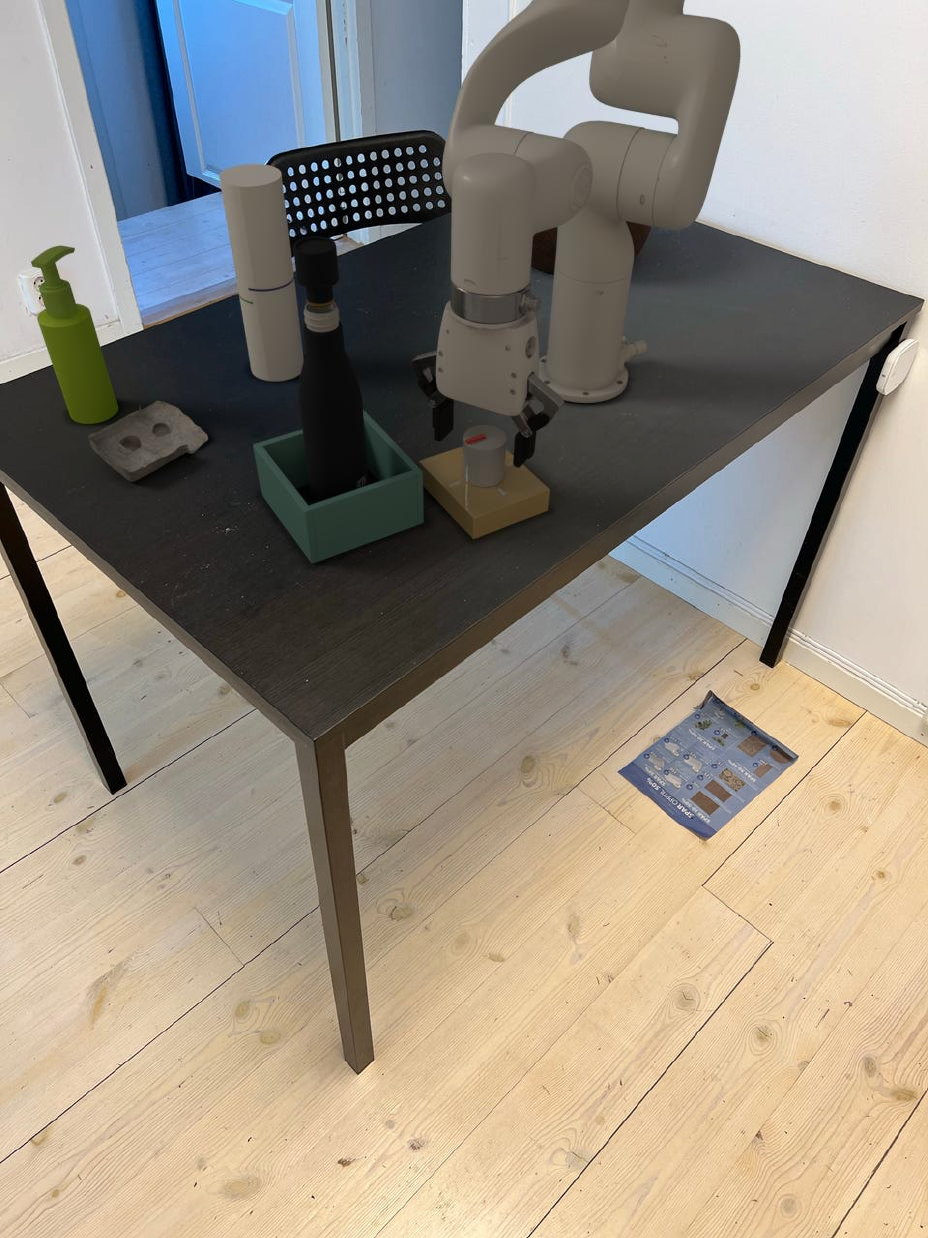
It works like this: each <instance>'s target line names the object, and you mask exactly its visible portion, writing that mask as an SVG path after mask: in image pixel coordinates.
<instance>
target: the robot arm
mask: <svg viewBox="0 0 928 1238" xmlns="http://www.w3.org/2000/svg"><path fill="white" fill-rule="evenodd" d="M685 2H686V0H531V2H530V3H529V4H528V5H527V6H526V7H525V8H524V9H523V10H522V11H520V12H519V13H518V14H516V16H515V17H514V18H512V19H511V20H509V22H507V23H506V24H505V25H504V26H503V27H502V28H501V29H500V30H499V31H498V32H497V33H496V34H495V35H494V37H492V39H491V40H489V42H488V43H487V45H486V46H485V47H484V48H483V49H482V50H481V52H480V53H479V55H478V56H477V57H476V58H475V60H474V61H473V62H472V64H471V66H470V67H469V69H468V70H467V72H466V74H465V77H464V79H463V81H462V83H461V86H460V88H459V92H458V95H457V98H456V102H455V106H454V109H453V113H452V117H451V120H450V123H449V127H448V131H447V134H446V135H447V136H446V139H445V143H444V150H443V155H442V163H441V164H442V165H441V167H442V168H441V174H442V183H443V185H444V188H445V191H446V193H447V194H448V195H449V197H450V198H451V227H450V228H451V230H450V231H451V232H450V233H451V235H450V237H451V239H450V244H451V245H450V294H449V296H450V297H449V300H448V302H446V304H445V306H444V308H443V309H444V310H443V314H442V317H441V322H440V326H439V333H438V338H437V346H436V347H437V348H436V350H433V351H429V352H425V353H422V354H418V355H416V356H415V357H413V359H411V360H410V366H411V368H412V371H413V373H414V375H415V377H416V379H417V385H418V387H419V388H420V390H421V391H422V393H424V395H425V396H426V397H427V404H428V406H429V407H430V408H431V409H432V411H431V412H432V413H431V414H432V417H431V419H432V421H431V422H432V423H431V424H432V428H433V430H434V431H433V433H434V434H433V439H434V441H436V442H442V441H443V440H444V439H445V438H446V437H447V436H448V435H449V434H450V433H451V432H452V431H453V430H454V428H455V427H454V425H455V423H454V422H455V419H454V418H455V401H457V402H461V403H463V404H466V405H470V406H473V407H476V408H479V409H482V410H487V411H489V412H493V413H496V414H499V415H503V416H507V417H510V418H511V420H512V422H513V424H514V425H515V426H516V428H517V429H518V431H517V433H516V434H515V437H514V446H513V456H514V458H513V465H514V466H515V467H518V468H520V467H521V466H522V464H523V465H524V463H525V462H526V461H527V460H530V459H532V457H533V456H534V455H535V451H536V440H537V432H538V431H540V430H541V429H543V428H545V427H546V426H548V424H550V423H551V421H552V420H553V419H554V417H555V416H556V415H557V414H558V413H559V411H560V410H561V409H562V408H563V406H564V404H565V402H571V403H577V404H578V403H579V404H593V403H594V404H595V403H601V402H604V401H610V400H611V399H613V398H616V397H617V396H619V395H621V394H622V393H623V392H624V390H625V389H626V387H627V386H628V382H629V371H628V369H627V367H626V366H625V363H627V362H629V361H630V359H631V358H635V357H638V356H641V355H644V354H646V353H647V352H648V344H647V342H646V340H645V339H637V340H635V341H632V342H630V343H629V341H628V338H627V336H625V335H624V329H625V322H626V315H627V309H628V303H629V302H628V301H629V296H630V289H631V283H632V276H633V270H634V264H635V263H634V262H635V258H634V245H633V240H632V237H631V233H630V231H629V228H628V226H627V223H626V221H629V222H634V223H638V224H643V225H648V226H652V227H653V228H657V229H662V230H668V231H681V230H685V229H687V228H689V227H690V226H692V225H693V224H694V222H696V220H697V219H698V217H699V215H700V213H701V212H702V209H703V206H704V205H705V200H706V198H707V194H708V192H709V188H710V184H711V182H712V178H713V174H714V170H715V167H716V162H717V159H718V155H719V151H720V147H721V145H722V140H723V136H724V133H725V129H726V125H727V121H728V119H729V118H728V117H729V114H730V110H731V107H732V104H733V99H734V95H735V92H736V87H737V83H738V78H739V72H740V67H741V66H740V65H741V57H742V55H741V41H740V40H741V39H740V37H739V34H738V32H737V30H736V29H735V27H734V26H732V25H731V24H730V23H728V22H727V21H726V20H725V21H724V20H722V19H719V18H715V17H710V16H701V15H694V14H685V13H684V6H685ZM589 53H591V59H590V63H589V73H588V84H589V90H590V92H591V94H592V96H593V98H595V99H596V100H597V101H598V102H599V103H601V104H603V105H605V106H609V107H611V108H616V109H620V110H623V111H629V112H635V113H640V114H645V115H650V116H657V117H662V118H668V119H673V120H675V121H676V123H677V128H678V129H677V133H672V132H668V131H663V130H656V129H650V128H645V127H643V126H638V125H632V124H627V123H622V122H616V121H610V120H609V121H608V120H587V121H582V122H580V123H577V124H575V125H573V126H572V127H571V128H569V129H568V130H567V131H566V132H565V134H564V135H563V137H559V136H553V135H548V134H543V133H537V132H534V131H529V130H525V129H520V128H515V127H509V126H503V125H498V124H496V121H497V119H498V117H499V114H500V111H501V109H502V108H503V106H504V104H505V102H506V101H507V100H508V99H509V97H510V95H512V93H514V91H515V90H516V89H517V88H518V87H519V86H520V85H522V84H523V83H524V82H525V81H527V80H528V79H529V78H531V77H533V76H534V75H536V74H538V73H540V72H542V71H543V70H546V69H548V68H551V67H553V66H555V65H559V64H561V63H563V62H566V61H569V60H571V59H574V58H577V57H581V56H583V55H586V54H589ZM557 226H558V230H557V247H556V259H555V270H554V274H553V283H552V291H551V292H552V293H551V305H550V316H549V327H548V338H547V339H548V340H547V349H546V350H547V351H546V354H545V355H543V356H541V357H540V341H539V329H538V324H537V318H536V313H538V312H539V311H540V309H541V306H542V298H540V297H538V296H535V295H534V294H532V283H530V280H531V269H532V266H531V257H532V242H533V236H534V234H536V233H539V232H542V231H545V230H548V229H551V228H555V227H557ZM652 227H651V228H652ZM433 367H435V375H434V373H432V372H431V371H432V370H431V368H433ZM535 399H536V400H537V401H539V402H540V403H541V404H542V405H543V410H542V411H539V412H538V410H537V408H536V406H535V405H534V404H533V402H532V400H533V401H534V400H535Z"/></svg>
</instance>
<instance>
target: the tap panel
mask: <svg viewBox="0 0 928 1238" xmlns="http://www.w3.org/2000/svg"><path fill="white" fill-rule="evenodd" d="M462 453H463V445H462V446H459V447H456V448H453V449H450V450H446V451H444V452H440V453H438V454H435V455H432V456H429V457H427V458H424V459H423V458H422V459H420V460H418V467H419V468H420V469H421V470H422V471H423V488H424V489H425V490H426V491H427V492H428V493H429V494H430V495H431V496H432V497H433V498H434V499H435V500H436V502H438V504H440V506H441V507H442V508H443V509H444V510H445V511H446V512H447V514H449V515H450V516H451V518H452V519H453V520H454V521H455V522H456V523H457V524H458V525H459V527H461V528H462V529H463V530H464V531H465V532H466V533H467V534H468V536H469V537H470V538H471V539H472V540H475V539H478V538H481V537H484V536H485V535H488V534H491V533H493V532H496V531H499V530H502V529H504V528H506V527H509V526H511V525H515V524H516V523H519V522H522V521H524V520H527V519H530V518H533V517H535V516H537V515H540V514H542V513H545V512H548V511H549V507H550V506H549V505H550V495H551V488H550V487H548V486H547V485H546V484H545V483H544V482H543V481H542V480H540V479H539V477H537V476H536V475H535V474H534V473H533V472H532V471H531V470H530V469H529V468H527V467H526V466H525V465H524V463H523V464H522V466H521V467H520V468H518V467H515V466H514V465H513V458H514V454H512V453H511V452H510V451H509V450H508V449H507V448H506V462H505V477H504V479H503V480H502V481H501V482H500V483H499V484H497V485H495V486H491V487H477V486H473V485H471V484H469V483H468V482H466V481H465V480H464V478H463V476H462Z"/></svg>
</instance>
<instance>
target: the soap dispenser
mask: <svg viewBox="0 0 928 1238" xmlns="http://www.w3.org/2000/svg"><path fill="white" fill-rule="evenodd" d="M75 251H76V248H75V247H72V246H67V245H55V246H52V247H50V248H47V249H46V250H44V251H42V252H40V253H39V254H38V255H37V256H36V257H35V258H33V259H32V260H31V261H30V263H31V267H32V268H37V269H40V270H41V274H42V277H43V280H44V281H43V282H42V283H41V284H40V285H39V287H38V289H39V293H40V297H41V299H42V302H43V305H44V309H42V310H41V312H39V313H38V314H37V317H36V319H37V323H38V327H39V329H40V332H41V335H42V338H43V340H44V343H45V346H46V349H47V352H48V356H49V359H50V361H51V364H52V367H53V370H54V373H55V376H56V378H57V382H58V385H59V387H60V390H61V393H62V396H63V400H64V403H65V406H66V409H67V412H68V414H69V418H70V419H71V420H72V421H74V422H75V423H78V424H81V425H82V424H83V425H94V424H99V423H100V424H101V423H102V422H105V421H108V420H110V419H111V418H113V417H114V416H115V415H116V414H117V413H118V411H119V404H118V402H117V399H116V395H115V392H114V388H113V385H112V381H111V378H110V375H109V371H108V368H107V365H106V361H105V358H104V354H103V351H102V347H101V344H100V340H99V338H98V334H97V331H96V328H95V324H94V321H93V320H94V319H93V316H92V314H91V310H90V309H89V307H87V306H86V305H85V304H81V303H77V302H76V299H75V296H74V292H73V289H72V285H71V284H70V282H69V281H68V280H66V279H62V278H61V276H60V273H59V269H58V266H57V262H58V261H60V260H62V258H64V257H65V256H67V255H71V254H74V253H75Z"/></svg>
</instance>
